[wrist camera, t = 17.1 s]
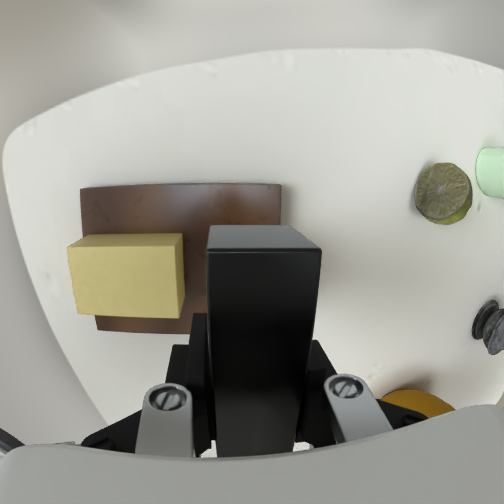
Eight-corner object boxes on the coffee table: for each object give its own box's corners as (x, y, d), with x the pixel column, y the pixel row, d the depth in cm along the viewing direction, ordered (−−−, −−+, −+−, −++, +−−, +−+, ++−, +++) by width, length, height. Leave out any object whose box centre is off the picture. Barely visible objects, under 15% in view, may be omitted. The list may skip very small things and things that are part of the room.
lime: (408, 221, 22) (447, 234, 17) (405, 163, 21) (445, 164, 16) (445, 215, 22) (483, 226, 17) (443, 161, 21) (483, 164, 16)
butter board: (101, 324, 22) (97, 330, 21) (85, 188, 19) (79, 188, 18) (271, 326, 23) (273, 333, 22) (278, 184, 20) (281, 184, 19)
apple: (421, 417, 30) (467, 481, 17) (348, 447, 29) (383, 526, 17) (435, 356, 27) (503, 426, 14) (350, 391, 26) (404, 488, 14)
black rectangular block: (216, 381, 16) (222, 499, 8) (212, 205, 14) (205, 248, 6) (257, 379, 16) (282, 495, 9) (264, 205, 14) (323, 248, 6)
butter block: (95, 293, 20) (77, 314, 17) (88, 234, 19) (66, 246, 15) (185, 295, 21) (179, 318, 17) (182, 232, 19) (174, 246, 16)
